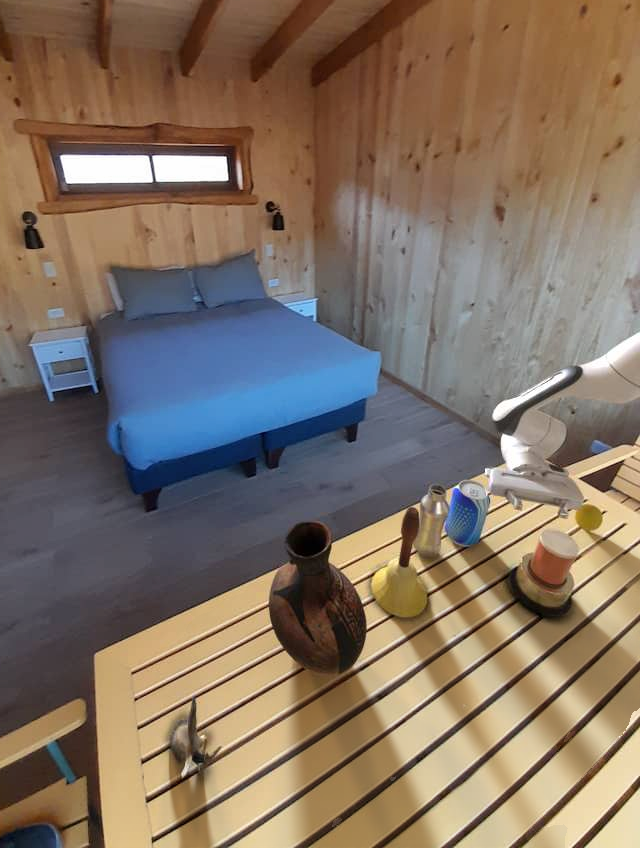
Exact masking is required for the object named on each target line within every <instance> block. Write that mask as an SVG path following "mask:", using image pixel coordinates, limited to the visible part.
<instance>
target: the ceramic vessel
mask: <svg viewBox="0 0 640 848" xmlns="http://www.w3.org/2000/svg"><path fill="white" fill-rule="evenodd" d="M332 546H333V539H332V533H331V531H330V529H329V528H328V526H327V525H325V523H322V522H321V521H317V520H307V521H300V522H297V523H296V524H294V525H293V526H292V527H290V528H289V530H288V532H287V533H286V536H285V538H284V549H285V551H286V553H287V556H289V561H286V562H285V563H283V564H282V565H281V566H280V567H279V568H278V570H277V571H276V573H275V574H274V577H273V579H272V582H271V585H270V589H269V595H268V613H269V620H270V624H271V626H272V630H273V632H274V634H275V636H276V639H277V641H278V642H279V643H280V645H281V646H282V647H281V648H283V649H284V651H285V652H286V654H287V655H289V656H290V657H291V659H292V660H293V661H294V662H296V663H297V664H298V665H299V666H300V667H301V668H303V669H305V670H306V671H309V672H311V673H314V674H317V675H321V676H336V675H337V676H338V675H341V674H343V673H345V672H347V671H349V670H350V669H351V668H352V667H353V666H354V665H355V664H356V663H357V661H358V659H359V658H360V656H361V654H362V652H363V650H364V646H365V644H366V638H367V629H368V627H367V616H366V611H365V608H364V605H363V602H362V598H361V596H360V595H359V593H358V591H357V589H356V587H355V586H354V585H353V583H352V582H351V580H350V578H348V577H347V575H345V573H344V572H343V571H341V569H339V568H338V567H337V566H335V565H334V564H332V563H331V562H330V561H329V560H330V554H331V553H332V552H331V551H332V549H333V547H332Z"/></svg>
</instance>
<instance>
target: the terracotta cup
mask: <svg viewBox="0 0 640 848" xmlns="http://www.w3.org/2000/svg"><path fill="white" fill-rule="evenodd" d="M579 552H580V546H579V543H578V542H577V541H576V540H575V539H574V538H573V537H572V536H571V535H569V534H567V532H564V531H562V530H559V529H555V528H545V529H544V530H542V531H541V533H540V535H539V538H538V540H537V544H536V546H535V548H534V551H533V553H534V554H533V556H532V559H531V561H530V567H531V569H532V571H533V573H534V574H535V575H536V576H537V577H538V578H540V579H541V580H543V581H545V582H547V583H550V584H554V585H559V584H562V583H563V582H564V581H565V580H566V577H567V575H568V573H569V572H571V568H572V566H573V565H574V562H575V560H576V558H577V556H578V554H579Z"/></svg>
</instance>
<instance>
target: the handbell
mask: <svg viewBox="0 0 640 848" xmlns="http://www.w3.org/2000/svg"><path fill="white" fill-rule="evenodd" d="M419 518H420V511H419V510H418V509H417V508H416V507H414V506H410V507H408V508H407V509H406V510H405V513H404V515H403V517H402V520H401V526H400V534H401V539H402V540H401V547H400V551H399V558H394V559H392V560H391V561H389V562H388V564H387V566H384V567H382V568H380V569H379V570H378V571H376V572H375V574H374V576H373V577H372V579H371V585H370V587H371V591H372V595H373V597H374V599H375V601H376V603H377V604H378V605H379V606H380V607H381V608H382V609H383V610H384V611H386V612H387V613H389V614H390V615H393V616H396V617H399V618H412V617H416V616H418V615H420V614H421V613H422V612H423V611H424V610H425V608H426V606H427V604H428V592H427V590H426V587H425V585H424V583H423V582H422V580H421V579H420V577H418V572H417V568H416V567H415V566H414V564H413V563H412V562H410V560H411V555H412V551H413V550H412V549H413V541H414V540H415V539H416V537H417V535H418V531H419V524H420V522H419Z"/></svg>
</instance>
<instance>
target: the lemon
mask: <svg viewBox="0 0 640 848" xmlns="http://www.w3.org/2000/svg"><path fill="white" fill-rule="evenodd" d="M603 519H604V517H603V513H602V511H601V510H600V508H598V506H595V505H594V504H589V503H585V504H583V505H582V507H581V508H580V509H579V510H575V514H574V520H575V523H576V524H577V526H578V527H579V528H581V529H582V530H585V531H589V532H592V531H596V530H598V529H599V528H600V527H601V525H602V524H603Z"/></svg>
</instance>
